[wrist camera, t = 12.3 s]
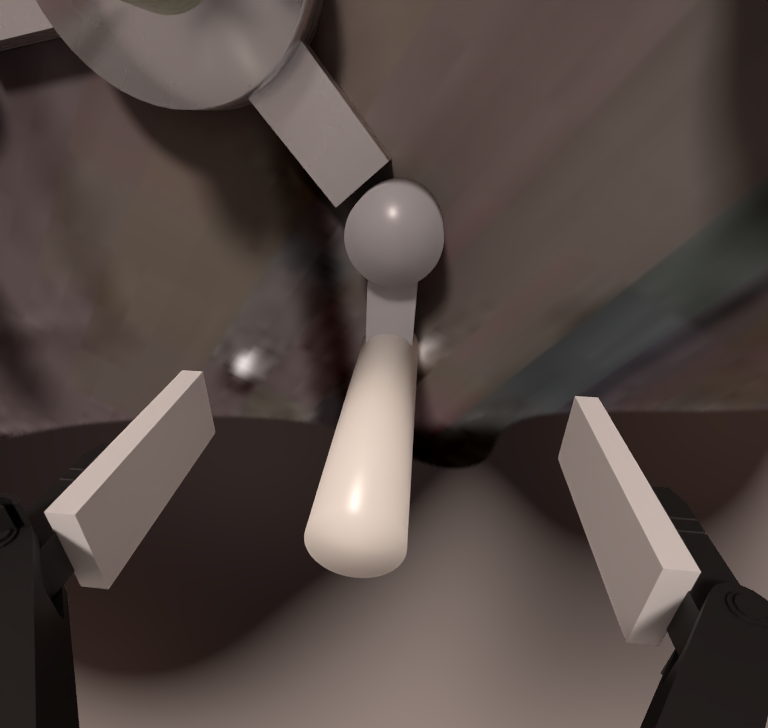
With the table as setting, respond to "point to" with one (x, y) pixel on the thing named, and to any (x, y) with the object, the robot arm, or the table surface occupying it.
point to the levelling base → (216, 68)
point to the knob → (378, 387)
